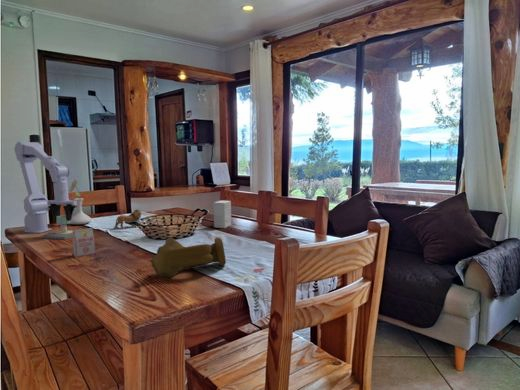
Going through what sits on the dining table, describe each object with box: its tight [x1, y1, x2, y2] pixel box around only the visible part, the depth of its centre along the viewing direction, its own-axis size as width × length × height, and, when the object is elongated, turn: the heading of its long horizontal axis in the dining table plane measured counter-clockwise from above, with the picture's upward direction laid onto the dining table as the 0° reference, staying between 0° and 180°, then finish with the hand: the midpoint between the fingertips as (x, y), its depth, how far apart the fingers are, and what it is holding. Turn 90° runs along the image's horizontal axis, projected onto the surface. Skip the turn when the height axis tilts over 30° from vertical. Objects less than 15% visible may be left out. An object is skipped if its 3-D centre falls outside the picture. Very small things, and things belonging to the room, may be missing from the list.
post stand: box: [42, 224, 74, 240], centre depth 170 cm, size 12×13×6 cm
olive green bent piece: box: [151, 236, 227, 278], centre depth 120 cm, size 18×13×22 cm
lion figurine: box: [113, 208, 142, 230], centre depth 186 cm, size 15×5×9 cm, turn 130°
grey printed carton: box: [72, 227, 96, 258], centre depth 138 cm, size 4×7×10 cm, turn 129°
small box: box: [213, 200, 232, 229], centre depth 187 cm, size 8×6×13 cm
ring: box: [56, 214, 71, 225], centre depth 169 cm, size 6×6×3 cm
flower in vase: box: [68, 178, 93, 225], centre depth 194 cm, size 13×11×25 cm
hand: (63, 220), depth 169 cm, fingers closed on ring, 6 cm apart
